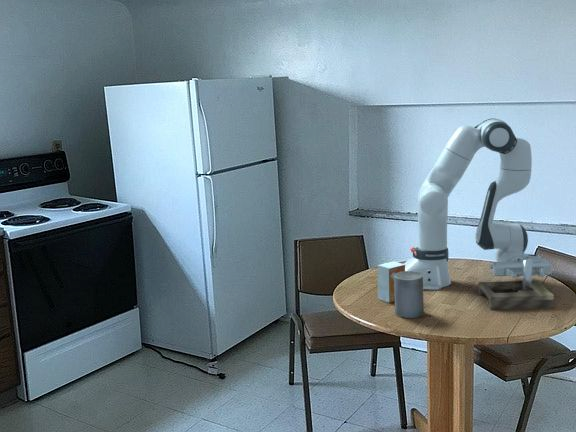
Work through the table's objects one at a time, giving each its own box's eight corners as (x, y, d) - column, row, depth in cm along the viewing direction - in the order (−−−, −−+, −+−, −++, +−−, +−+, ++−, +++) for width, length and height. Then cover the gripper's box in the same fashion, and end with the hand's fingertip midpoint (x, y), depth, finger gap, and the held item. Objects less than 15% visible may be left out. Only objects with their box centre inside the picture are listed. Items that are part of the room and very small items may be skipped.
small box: (389, 303, 227) (388, 268, 225) (377, 299, 232) (376, 264, 230) (405, 298, 232) (405, 264, 229) (393, 294, 237) (393, 260, 234)
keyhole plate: (490, 309, 216) (491, 297, 215) (478, 294, 233) (478, 282, 232) (553, 308, 215) (553, 295, 214) (536, 292, 232) (536, 280, 231)
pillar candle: (411, 306, 223) (410, 265, 220) (429, 314, 214) (429, 272, 211) (389, 312, 218) (387, 270, 215) (406, 320, 210) (405, 277, 207)
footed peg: (520, 303, 221) (521, 262, 218) (515, 298, 227) (516, 257, 224) (538, 303, 220) (539, 261, 218) (532, 297, 226) (533, 257, 223)
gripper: (487, 256, 234) (498, 267, 221) (543, 254, 233) (557, 265, 220) (487, 273, 236) (497, 284, 222) (543, 271, 235) (557, 282, 221)
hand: (528, 274), depth 221 cm, fingers open, 8 cm apart
